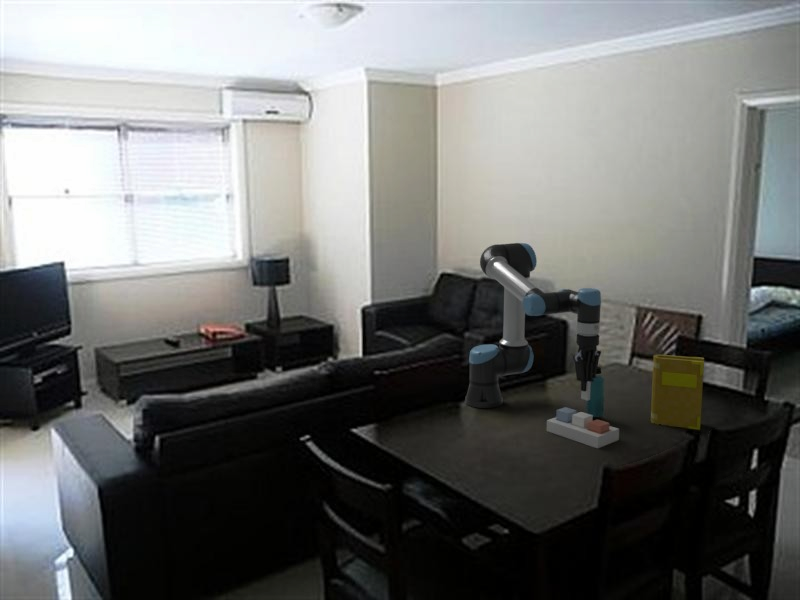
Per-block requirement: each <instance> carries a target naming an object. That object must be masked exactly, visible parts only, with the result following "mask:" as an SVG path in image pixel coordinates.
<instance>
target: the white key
mask: <svg viewBox="0 0 800 600" xmlns="http://www.w3.org/2000/svg"><path fill="white" fill-rule="evenodd" d="M593 418H594V417H593V415H590V414H587V413H586V412H582V411H580V412H579V411H578V412H577V413H576V414H573V415H572V425H574V426H577V427H580V428H583V429H585V428H587V427H588V424H589V422H591V421H594V419H593Z"/></svg>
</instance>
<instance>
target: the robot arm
mask: <svg viewBox="0 0 800 600" xmlns="http://www.w3.org/2000/svg"><path fill="white" fill-rule="evenodd" d="M479 266H480V269H481V271H482V272H483V274H485V276H487V278H489V279H490V280H495V281H497V282H498V283H499V284H500V285H502V286H503V288H504V289H503V290H504V291H503V326H502V327H503V328H502V329H503V333H502V338H501V339H499V343H498V345H499V346H498V345H496V344H491V343H490V344H480V345H476V346H474V347H472V348H471V350H470V352H469V358H468V361H469V385H468V388H467V393H466V394H465V404H466V405H468V406H470V407H473V408H478V409H493V408H497V407H500V406H502V405H503V399H504V398H503V395H502V393H501V392H502V391H501V389H500V385H499V377H503V376H508V375H509V376H510V375H519V374H522V373H525V372H528V371H529V370H530V369H532V366H533V362H534V352H533V349H532V347H531V345H529V341H527V340H526V338H525V325H526V323H525V322H526V316H529V317H533V316H534V317H538V316H545V315H553V314H562V313H572V314H575V315H577V316H576V317H577V321H576V345H577V346H578V349H577V353H576V355H573V356H572V359H573V361H574V367H575V373H576V375H575V376H576V380H577V381H578V382H580V394H581V395H580V399H581V400H584V401H586V402H587V401H588V400H590V389H591V381H592V382H593V381H594V380H593V378H595V377H596V375H597V374H596V372H597V367H599V366H598V365H599V360H600V356H601V354H602V351H601V350H598V347H597V346H599V345H600V335H599V334H600V322H601V307H602V306H601V304H602V300H601V299H602V298H601V295H602V294H601V291H600V290H599V289H597V288H590V287H586V288H585V287H583V288H580V289H579V290H578V291H576V290H572V289H566V288H562V289H559V290H558V291H554V292H553V291H551V292H544V291H542V290H541V289H540V288H539V287H537V286H536V285H535V284H533V282H531V281H530V280H529V279H530V277H531V273H532V272H533V271H534V270H535V269H536V267H537V255H536V253H535V249H533V247H532V246H531V245H530V244H528V243H524V242H514V243H504V244H503V243H502V244H491V245H489V246H488V247H487V248H485V249H484V250H483V252H482V253H481V256H480V259H479Z"/></svg>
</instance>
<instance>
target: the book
mask: <svg viewBox="0 0 800 600" xmlns="http://www.w3.org/2000/svg"><path fill="white" fill-rule="evenodd" d="M652 361H653V362H652V379H651V380H652V382H651V383H652V384H651V401H650V402H651V405H650V406H651V407H650V422H651V424H654V423H655V425H659V424H661V425H660V426H667V425H668V427H677V428H683V429H689V430H698V431H701V419H702V404H703V403H702V402H703V401H702V400H703V387H704V386H703V385H704V384H703V383H704V368H705V367H704V365H705V358H704V357H699V356H685V355H684V356H681V355H668V354H654V355H653V360H652Z"/></svg>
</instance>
